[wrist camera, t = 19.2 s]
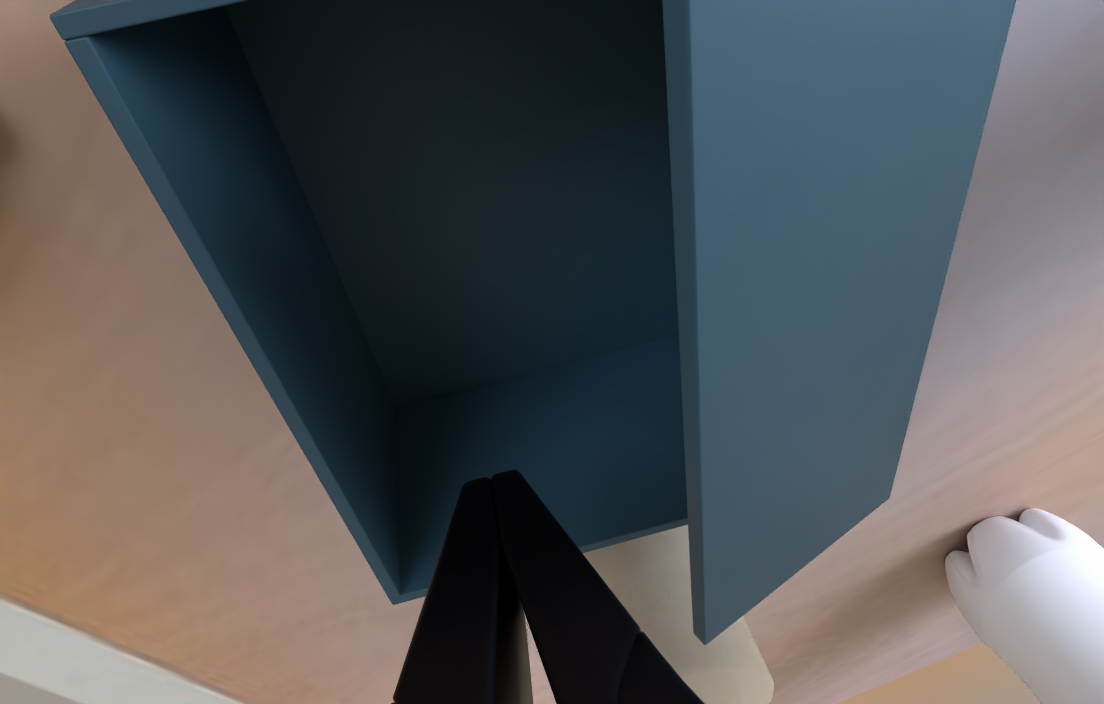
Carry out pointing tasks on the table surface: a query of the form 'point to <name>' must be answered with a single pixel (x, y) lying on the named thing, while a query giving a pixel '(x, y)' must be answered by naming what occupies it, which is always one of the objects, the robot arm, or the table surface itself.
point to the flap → (809, 259)
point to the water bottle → (1036, 602)
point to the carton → (425, 241)
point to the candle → (682, 618)
